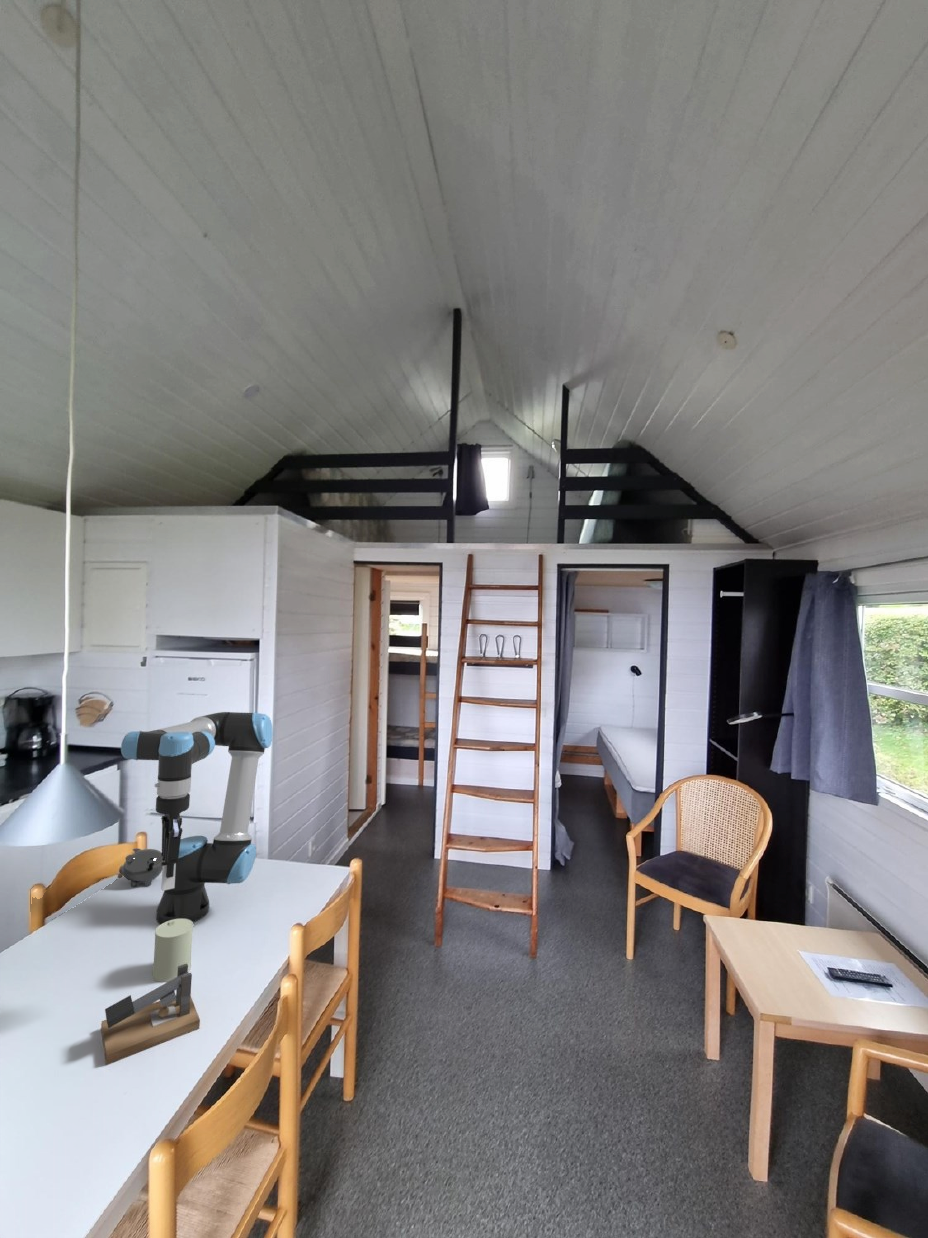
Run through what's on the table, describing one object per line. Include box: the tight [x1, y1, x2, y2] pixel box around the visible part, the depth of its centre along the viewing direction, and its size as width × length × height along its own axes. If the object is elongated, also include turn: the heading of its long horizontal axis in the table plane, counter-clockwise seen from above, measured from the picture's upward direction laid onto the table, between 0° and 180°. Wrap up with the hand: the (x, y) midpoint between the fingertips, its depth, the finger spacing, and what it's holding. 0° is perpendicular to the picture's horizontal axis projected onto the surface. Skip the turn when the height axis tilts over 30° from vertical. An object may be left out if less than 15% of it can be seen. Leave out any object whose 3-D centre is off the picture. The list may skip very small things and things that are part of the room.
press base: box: [100, 963, 201, 1066], centre depth 122 cm, size 12×18×11 cm, turn 129°
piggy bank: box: [118, 847, 165, 888], centre depth 189 cm, size 11×15×12 cm
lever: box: [104, 971, 189, 1028], centre depth 122 cm, size 5×17×4 cm, turn 129°
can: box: [151, 919, 194, 983], centre depth 142 cm, size 9×9×12 cm
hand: (167, 888), depth 134 cm, fingers closed
